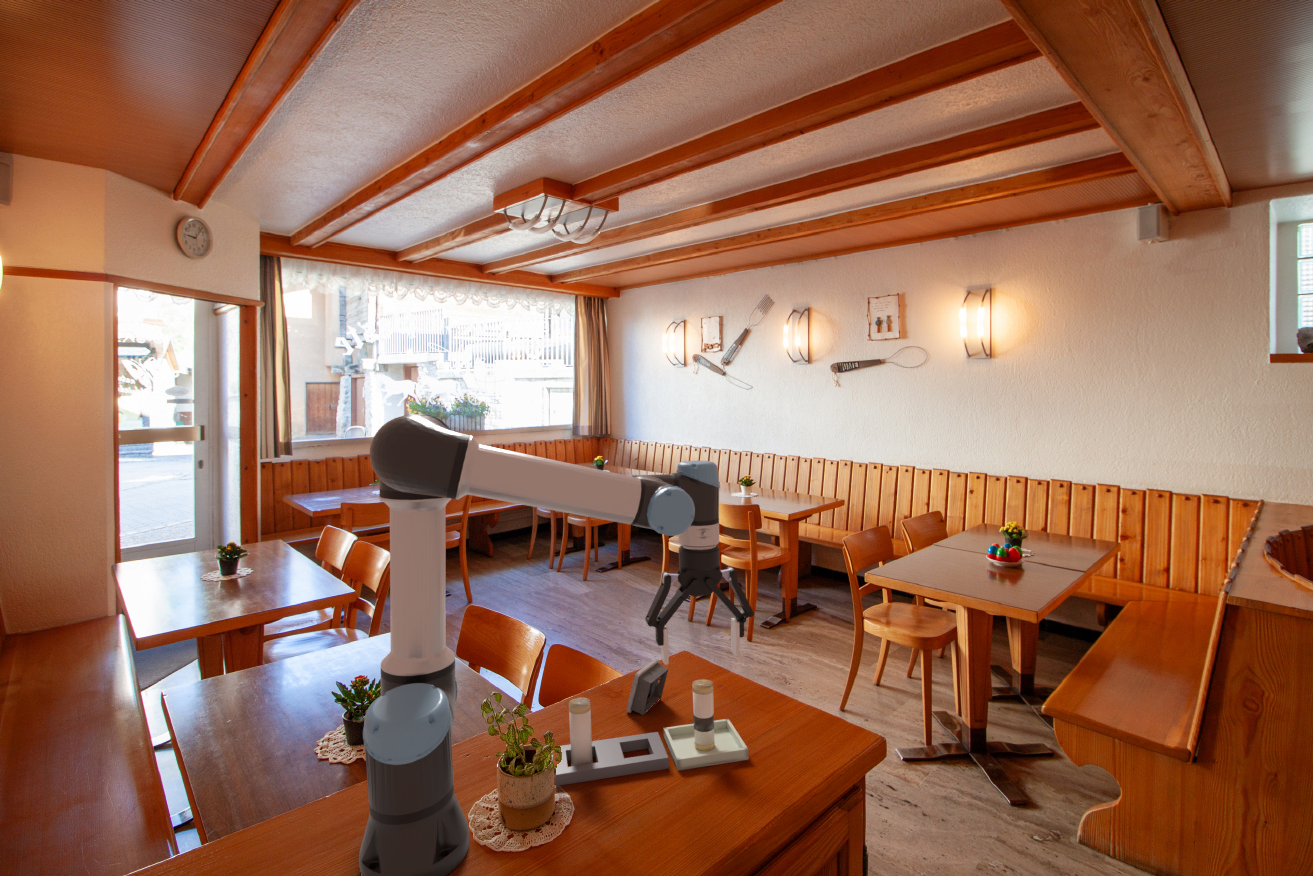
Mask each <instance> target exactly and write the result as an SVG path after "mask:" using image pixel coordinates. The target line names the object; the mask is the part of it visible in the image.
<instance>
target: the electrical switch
mask: <svg viewBox="0 0 1313 876" xmlns="http://www.w3.org/2000/svg"><path fill="white" fill-rule="evenodd" d="M668 672H669V668H667V667H665V666H663V665H662V664H661V663H660V659H658V658H656V657H655V658H654V659H653V660H651V661H650V662H649V663H647V664H646V665H645V666H644V667H642V668H640V669H639V670H638V671H637V672H636V673H635V674H634V676H633V680H632V684H631V689H630V693H629V697H628V700H627V705H626V712H627V713H629V714H631V713H632V712H634V713H637V714H639V715H641V716H644V715H645V714H646V713H647V712H648V711H647V710H649V708H651V706H652V705H654V703H656V702H657V703H659V702H658V700H659V699H660V701H661V700H662V695H663V693H664V688H665V684H666V679H667V676H668ZM657 703H656V704H657ZM654 706H655V705H654ZM651 709H652V708H651ZM646 711H647V712H646ZM649 711H650V710H649ZM645 712H646V713H645ZM644 713H645V714H644Z"/></svg>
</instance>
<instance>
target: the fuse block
mask: <svg viewBox="0 0 1313 876" xmlns="http://www.w3.org/2000/svg"><path fill="white" fill-rule="evenodd" d="M559 746H560V747H561V752H562V760H561V762H560V763H559V764H557V768H556V775H554V784H555V783H556V786H555V787H558V786H563V785H564V786H566V785H570V784H577V783H584V782H590V781H591V782H592V781H598V780H602V779H604V780H605V779H609V778H614V777H622V776H627V775H634V774H641V773H648V772H654V771H661V770H667V769H670V766H669V755H668V754H667V750H666V748H665V746H664V744H663V741H662V738H661V737H660V735H659V731H654V732H653V731H652V732H647V733H641V734H632V735H627V736H620V737H613V738H607V739H605V738H604V739H597V740H593V741H592V758H593V757H594V758H595V761H596V762H593V763H591V764H584V765H577V766H571V765H570V766H568V761H571V744H570V743H569V744H565V745H559ZM647 749H648V752H649V754H644V755H637V756H633V757H632V756H631V757H625V756H624V753H627V752H634V751H641V750H647Z"/></svg>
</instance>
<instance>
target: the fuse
mask: <svg viewBox="0 0 1313 876" xmlns="http://www.w3.org/2000/svg"><path fill="white" fill-rule="evenodd" d="M568 713H569V714H568V715H569V716H568V718H569V720H568V721H569V741H570V743H569V745H570V744H571V760H570V763H571V765H570V767H571V766H577V765H584V764H591V763H594V762H593V757H592V738H593V737H592V716H591V715H592V712H591V700H590V699H589V698H587V697H576V698H575V697H574V698H572V699H571V700H569V701H568Z"/></svg>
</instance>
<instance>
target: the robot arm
mask: <svg viewBox="0 0 1313 876" xmlns="http://www.w3.org/2000/svg"><path fill="white" fill-rule="evenodd" d="M369 461H370V465H371V468H372V470H373V472H374V473H375V475H376V477H377V478H378V480H379V481H378V484H379V485H378V486H379V496H378V497H379V499H380V501H382V502H383V503H384V504H385V505H386V506H387V507H388V509H389V573H390V574H389V581H390V582H389V583H390V585H389V589H390V591H389V592H390V595H389V597H390V598H389V601H390V608H389V609H390V613H389V614H390V616H389V617H390V619H389V620H390V624H389V625H390V627H389V628H390V652H388V654H387V655H386V656H385V657H384V658H383V659H382V661H381V662H380V695H379V696H378V697H377V698H375V700H373V702H372V703H371V704H370V705H369V707H368V708H367V710H366V712H365V715H364V723H363V729H362V739H363V746H364V751H365V752H364V753H365V765H366V766H365V768H366V769H365V770H366V778H367V779H366V780H367V781H366V782H367V795H368V810H369V813H368V814H369V815H368V820H367V823H366V826H365V830H364V833H363V838H362V841H361V845H360V849H359V852H358V868H360V870H359V873H360V872H361V874H362V876H445V875H446V874H448V873H449V874H450V873H452V872H453V871H454V870H455V869H456V868H457V867H458V866H459V865H460V863H462V862H463V860H464V859H465V856H466V855H467V852H468V850H469V846H470V835H469V833H470V832H469V824H468V821H467V818H466V817H465V814H464V812H463V810H462V808H461V807H462V806H461V805H460V803H459V800H458V799H457V796H456V794H455V788H454V787H455V786H454V785H455V784H454V766H453V765H454V763H453V740H452V739H453V732H454V731H453V729H454V717H455V708H456V702H457V698H458V683H457V680H456V679H457V678H456V655H455V652H454V651H453V649H451V648H449V647H448V646H447V643H446V640H447V639H446V638H447V637H446V636H447V635H446V634H447V633H446V631H447V625H446V623H447V621H446V620H447V618H446V615H447V613H446V611H447V610H446V608H447V607H446V599H447V597H446V596H447V595H446V594H447V592H446V591H447V590H446V588H447V587H446V586H447V583H446V581H447V577H446V573H447V572H446V568H447V567H446V561H447V559H446V558H447V557H446V553H447V552H446V547H447V546H446V545H447V544H446V537H447V536H446V531H447V530H446V529H447V528H446V524H447V523H446V520H447V519H446V515H447V514H446V507H447V504H448V503H449V502H451V500H460V499H462V498H463V497H465V496H467V495H468V496H474V497H479V498H486V499H490V500H496V501H500V502H501V501H502V502H506V503H512V504H518V505H524V506H527V507H533V508H539V509H545V510H548V511H549V510H550V511H555V512H559V513H567V514H571V515H572V514H573V515H577V516H583V517H589V518H593V519H598V520H599V519H600V520H605V521H610V522H615V523H620V524H626V525H631V526H633V527H634V526H635V527H639V528H644V529H650V530H654V531H655V532H656V533H657V534H661V535H665V536H668V537H673V536H675V537H676V536H678V543H679V545H680V546H678V571H677V573H668V571H663V572H662V574H661V583H660V585H659V588H658V590H657V592H656V594H655V596H654V598H653V600H652V603H651V605H650V607H649V608H648V610H647V613H646V616H645V618H644V619H645V622H646V624H647V626H648V627H650V628H651V627H653V628H654V629H655V631H654V632H655V642H656V644H657V646H658V647H659V646H660V650H661V652H660V653H661V656H660V657H661V661H662V663H663V665H664V666H665V665H667V666H668V665H669V658H670V657H669V628H668V627H667V626H666V625H667V623H668V622H670V620H671V619H672V617H673V616H674V615H675V613H676V612H677V610H678V609H679V608H680V607H681V606H682V604H683V603H684V601H686V600H687V599H688V598H689V597H690V596H691V597H693V598H696V597H700V596H703V597H707V596H708V597H709V596H710V595H711V594H713V593H714V595H716V596H717V598H718V599H719V600H720V601H721V602H722V604H723V605H724V606H725V607H726V608H727V609H728V610H729V611H730V612H731V613H732V614H733V616H735V617H730V652H731V653H732V654H733V655H734V657H735V658H739V657H740V656H741V654H740V652H741V651H740V650H741V649H740V646H741V645H740V641H741V640H740V639H741V638H744V635H745V623H746V622H747V619H748V618H753V617H754V616H755V613H754V610H753V608H752V607H751V604H750V603H749V600H748V599H747V597H746V594H745V592H744V591H743V588H742V587H741V585H740V582H739V580H738V573H737V571H736V569H735V568H733V567H732V566H727V567H726V568H725V569H721V568H720V567H721V562H720V561H721V560H720V559H721V557H720V556H721V555H720V553H721V552H720V549H721V548H720V547H719V545H718V544H719V543H720V488H721V486H720V475H719V469H718V468H719V467H718V465H717V464H716V463H715V462H713V461H708V460H685V461H680V462H679V463H678V464H677V469H676V472H673V473H669V474H667V473H666V474H663V473H662V474H642V475H641V474H640V475H639V474H637V475H636V474H635V475H634V474H631V475H627V474H622V473H621V474H620V473H617V472H613V471H607V470H602V469H599V468H592V467H588V466H584V465H579V464H573V463H569V462H565V461H559V460H557V459H551V458H546V457H542V456H536V455H531V454H529V453H527V454H526V453H524V452H523V453H522V452H518V451H512V450H507V449H503V448H499V447H495V446H491V445H490V446H489V445H486V444H485V445H484V444H481V443H478V441H477V440H476V438H475V437H474V436H473V435H471V434H465V433H462V432H457V431H455V430H453V429H451V427H449V425H448V424H447V423H446V422H445V421H444V420H442V419H441V418H439V417H438V416H437V417H436V416H435V415H432V414H428V413H421V412H416V413H407V414H405V415H402V416H398V417H395V418H392V419H390V420H389V421H387V422H386V423H384V424H383V425H382V426H381V427H379V429H378V430H377V432H376V433H375V434H374V435H373V438H372V441H371V442H370V448H369ZM723 578H724V579H725V580H726V581H727V582H728V583H729V586H730V588H731V590H732V591H733V593H734V596H735V598H736V599H737V601H738V603H739V605H740V607H741V610H740V609H738V607H737V606H736V605H735V604H734V603H733V602H732V601H731V600H730V599H729V597H728V596H727V595H726V594H725V593H724V591H723V590H721V589H720V587H719V586H718V585H719V583H720V582H721V581H722V579H723ZM675 582H678V583H679V584H680V586H679V587H678V588H677V589H676V591H675V594H674V595H673V596H672V598H671V599H670V600H669V602H668V603H666V606H664V608H663V610H662V607H663V605H664V604H665V602H666V600H667V597H668V595H669V592H670V590H671V587H673V586H674V585H675ZM661 610H662V611H661ZM452 870H453V871H452ZM451 871H452V872H451ZM449 874H448V875H449ZM446 876H447V875H446Z"/></svg>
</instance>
